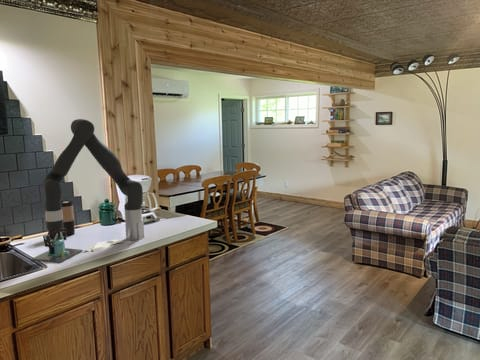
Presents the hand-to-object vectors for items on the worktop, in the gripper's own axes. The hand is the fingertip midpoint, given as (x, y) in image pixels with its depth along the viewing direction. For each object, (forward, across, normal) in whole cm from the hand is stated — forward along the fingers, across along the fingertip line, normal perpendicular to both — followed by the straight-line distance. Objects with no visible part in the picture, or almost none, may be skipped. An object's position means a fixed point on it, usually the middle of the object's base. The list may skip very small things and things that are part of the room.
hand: (56, 251), depth 178 cm
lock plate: (+2, 0, 0) cm, 2 cm away
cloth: (+3, +19, -14) cm, 24 cm away
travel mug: (+2, +32, +18) cm, 37 cm away
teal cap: (+1, 0, -1) cm, 1 cm away
